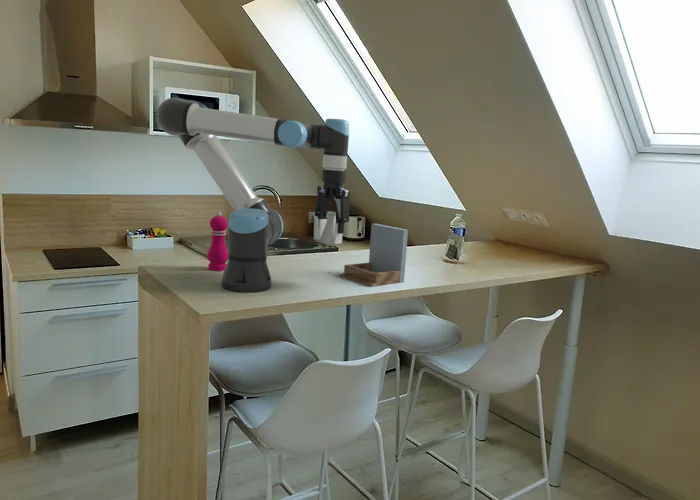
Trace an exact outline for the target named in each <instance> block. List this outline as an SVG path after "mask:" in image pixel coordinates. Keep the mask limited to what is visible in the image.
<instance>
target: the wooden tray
mask: <svg viewBox="0 0 700 500" xmlns="http://www.w3.org/2000/svg"><path fill="white" fill-rule="evenodd" d="M371 267H372V263H369V262H362V263H361V262H360V263H351V264H344V267H343V273H340V278H344V279H346V280H349V281H353V282H354V283H355V282H356V283H359V284H362V285H366V286H368V287H371V288H372V287H377V286H379V287H380V286H386V285H393V284H400V274H401V271H398V270H396V271H388V272H380V273H375V272H371Z"/></svg>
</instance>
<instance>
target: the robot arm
mask: <svg viewBox="0 0 700 500" xmlns="http://www.w3.org/2000/svg"><path fill="white" fill-rule="evenodd" d="M156 121H157V124H158V126H159V127H160V129H161V130H162V131H164V133H166V134H168V135H169V136H173V137H179V139H180V141H181V142H182V144H183V145H184V147H185V148H186V149H187V150H192V151H193V152H194V153H195V154H196V156H197V157H198V159H199V160H200V162H201V163H202V165H203V167H204V168H205V169H206V171H207V172H208V174H209V175H210V176H211V178H212V179H213V181H214V183H215V185H217V187H218V188H219V190H220V191H221V193H222V194H223V196H224V198H225V199H226V200H227V202H228V204H229V205H230V206H231V207H232V209H233V211H231V213H230V214H229V217H228V219H229V220H228V226H227V227H228V239H227V241H228V242H227V243H228V244H227V247H228V248H227V251H228V260H227V262H226V264H227V265H226V268H225V270H224V272H223V274H222V277H221V284H220V285H221V288H222V289H225V290H228V291H234V292H240V293H241V292H243V293H247V292H248V293H253V292H263V291H267V290H270V289H271V288H272V277H271V273H270V270H269V266H268V263H267V256H268V246H271V245H273V244H274V243H276V242H277V241H278V240H279V239H280V237H281V236H282V234H283V230H284V222H283V218H282V216H281V215H280V214H279V212H277V211H276V210H274V209H271V207H270V206H269V204H268V203H267V201H266V200H265V198H261V197H258V196H257V195H256V193H255V191H254V189H252V187H251V186H250V184H249V182H248V181H247V180H246V178H245V177H244V176H243V174H242V173H241V171H240V169H239V168H238V166H237V165H236V163H235V162H234V160H233V159H232V157H231V156H230V155H229V153H228V151H227V150H226V149H225V146H224V145H223V144H222V142H221V141H220V140H219V138H218V137H222V138H223V137H224V138H228V139H229V138H230V139H237V140H242V141H250V142H257V143H263V144H269V145H270V144H271V145H277V146H280V147H281V146H283V147H287V148H292V149H314V150H316V149H317V150H323V156H322V168H324V169H322V170H321V171H322V173H321V176H322V177H321V180H322V182H323V185H318V186H317V187H316V190H317V192H316V193H317V194H316V199H315V200H316V201H315V202H316V203H315V207H314V208H315V209H314V217H317V219H318V224H317V225H318V239H317V240H320V238H321V235H322V233H323V231H324V228H325V225H326V222H327V216H328V215H327V212H329V209H330V205H331V203H333V206H334V207H333V208H334V212H335V213H336V218H335V219H336V222H335V232H334V244H335V245H340V244H343V234H344V228H345V224H346V223H348V222H350V201H349V200H350V193H351V191H350V189H345V187H344V183H346V180H347V171H346V170H347V165H348V164H347V163H348V152H349V139H350V133H349V132H350V124H349V123H350V122H349V121H348V120H346V119H342V118H341V119H340V118H326V119H325V122H324V124H315V123H314V124H313V123H305V122H300V121H298V120H293V119H291V120H290V119H289V120H288V119H281V118H274V117H268V116H261V115H256V114H247V113H241V112H235V111H234V112H233V111H228V110H221V109H212V108H208V107H207V106H206V105H205V104H203V103H201V102H199V101H196V100H194V99H193V100H191V99H190V100H189V99H186V98H185V99H184V98H180V97H170V98H167V99H165V100H163V101H162V102H161V103H160V105H158V107H157V111H156Z"/></svg>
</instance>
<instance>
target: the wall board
mask: <svg viewBox="0 0 700 500" xmlns="http://www.w3.org/2000/svg"><path fill="white" fill-rule="evenodd" d="M370 229H371V230H370V244H369V256H368V257H369V258H368V263H372V267H371V272H375V273H380V272H388V271H396V270H398V271H401V274H400V283H404V282H405V273H406V261H407V260H406V259H407V247H408V238H409V237H408V234H409V229H406V228H405V229H404V228H400V227H395V226H390V225H385V224H380V223H371V225H370ZM400 283H399V284H400Z"/></svg>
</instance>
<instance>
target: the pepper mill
mask: <svg viewBox="0 0 700 500" xmlns="http://www.w3.org/2000/svg"><path fill="white" fill-rule="evenodd" d="M222 215H223V213H222V212H221V211H217V212H216V214H215V216H213V217H211V219H210V220H209V227H210V228H211V230H210V232H211V233H210V235H211V237H212V238H211V245H210V247H209V249H208V251H207V254H206V255H207V256H206V258H207V260H208V262H209V263H208V270H210V271H212V270H214V271H215V272H222V271H223V270H224V271H225V268H226V265H227V263H228V248H227V246H226V242H225V239H226V238H225V237H226V235H227V233H226V232H227V230H226V229H227V228H228V227H229V226H228V223H229V221H228V219H227V218H226V217H224V216H222ZM214 271H213V272H214Z"/></svg>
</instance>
